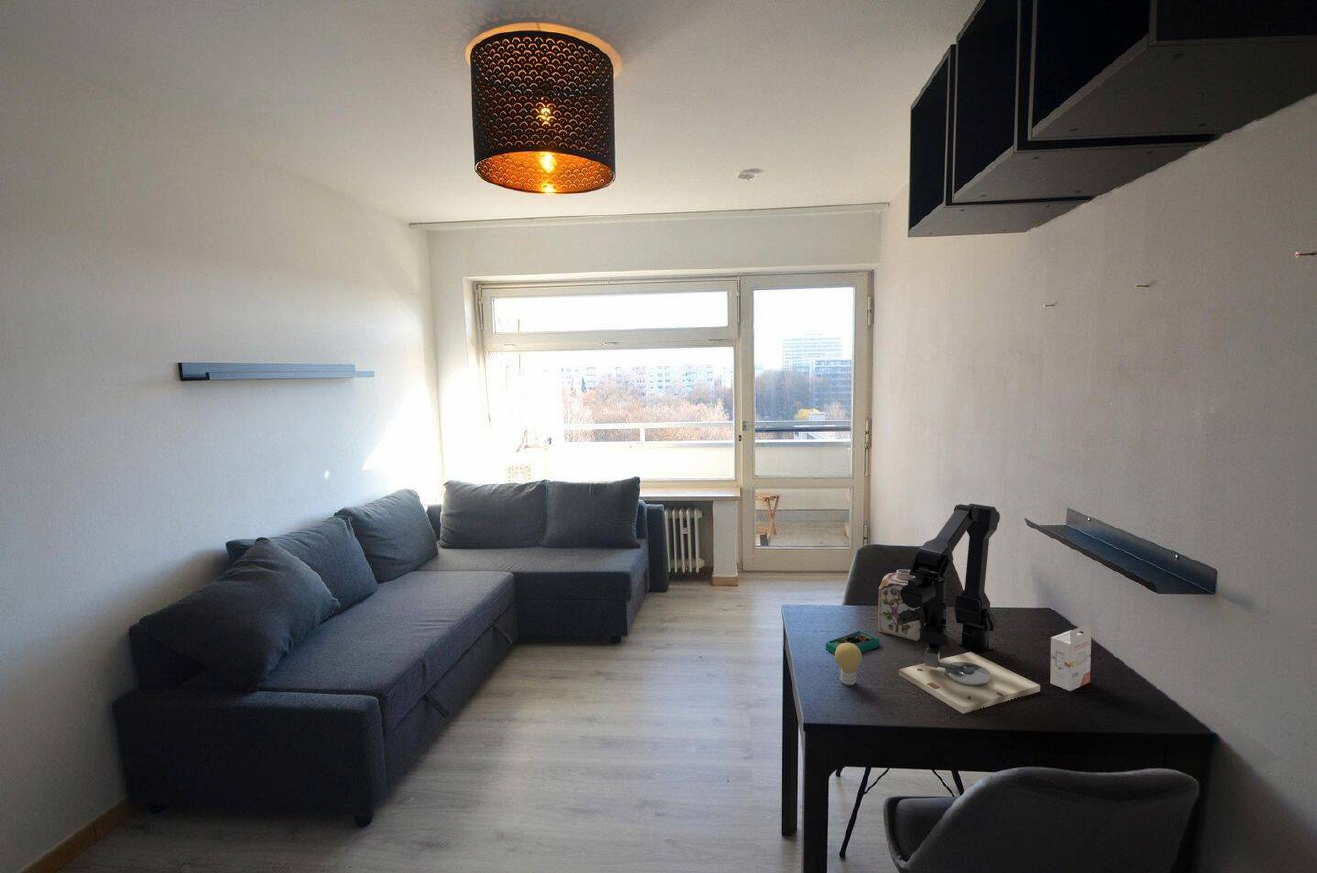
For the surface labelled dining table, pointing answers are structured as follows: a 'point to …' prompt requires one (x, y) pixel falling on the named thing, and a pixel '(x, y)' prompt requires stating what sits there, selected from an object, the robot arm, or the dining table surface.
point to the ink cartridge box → (1071, 658)
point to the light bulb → (848, 661)
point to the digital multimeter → (854, 641)
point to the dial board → (966, 696)
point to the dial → (958, 669)
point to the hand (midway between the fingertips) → (933, 655)
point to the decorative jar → (895, 606)
